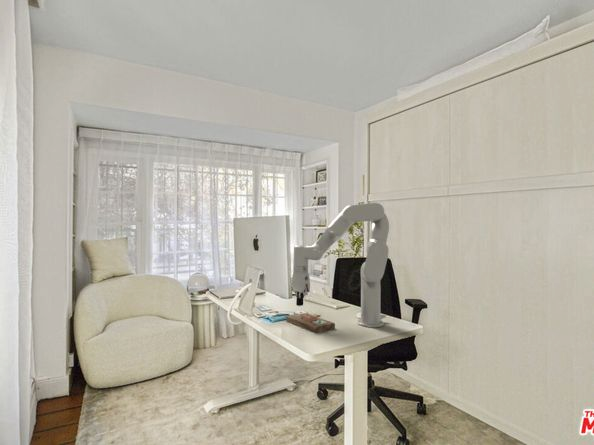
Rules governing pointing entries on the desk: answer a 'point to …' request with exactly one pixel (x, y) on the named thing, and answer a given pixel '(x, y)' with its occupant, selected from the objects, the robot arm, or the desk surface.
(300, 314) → the button one dot
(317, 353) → the desk surface
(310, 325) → the button board
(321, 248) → the robot arm
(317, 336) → the desk surface
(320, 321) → the button three dots
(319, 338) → the desk surface
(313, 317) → the button two dots
